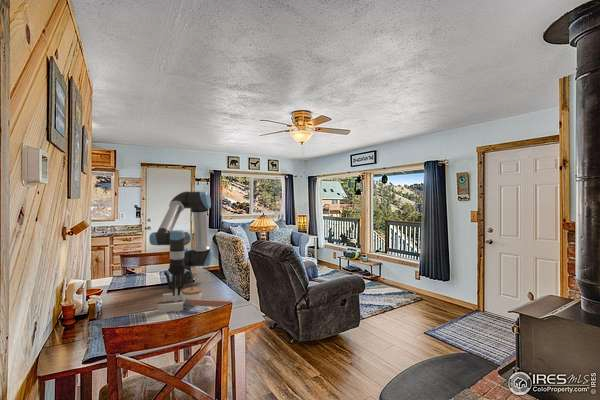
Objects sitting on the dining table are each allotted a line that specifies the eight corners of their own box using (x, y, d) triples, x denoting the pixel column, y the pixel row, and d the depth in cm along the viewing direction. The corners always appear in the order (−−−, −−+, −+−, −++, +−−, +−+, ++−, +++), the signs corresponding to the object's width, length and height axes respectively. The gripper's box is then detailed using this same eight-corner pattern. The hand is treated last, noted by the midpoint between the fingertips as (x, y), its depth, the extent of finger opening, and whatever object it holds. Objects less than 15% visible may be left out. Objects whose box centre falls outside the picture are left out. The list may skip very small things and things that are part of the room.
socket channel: (163, 301, 173) (163, 294, 173) (192, 298, 178) (192, 291, 178) (157, 313, 154) (157, 305, 154) (190, 310, 159) (190, 302, 159)
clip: (232, 306, 158) (232, 300, 158) (230, 308, 155) (230, 302, 155) (186, 303, 161) (186, 298, 161) (184, 305, 158) (184, 299, 158)
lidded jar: (180, 307, 162) (180, 290, 162) (182, 301, 172) (182, 284, 173) (201, 306, 165) (201, 288, 165) (202, 299, 176) (202, 283, 176)
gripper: (163, 260, 161) (162, 304, 161) (188, 259, 165) (188, 302, 165) (165, 257, 169) (164, 300, 168) (189, 256, 172) (189, 298, 172)
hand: (176, 301), depth 166 cm, fingers closed
